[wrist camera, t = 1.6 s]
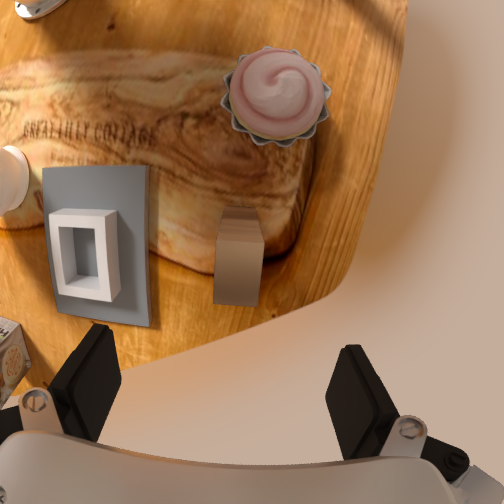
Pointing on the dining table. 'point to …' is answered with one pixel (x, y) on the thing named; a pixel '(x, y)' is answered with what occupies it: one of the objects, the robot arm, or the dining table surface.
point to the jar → (12, 178)
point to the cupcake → (275, 96)
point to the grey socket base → (99, 241)
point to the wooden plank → (238, 258)
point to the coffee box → (11, 358)
